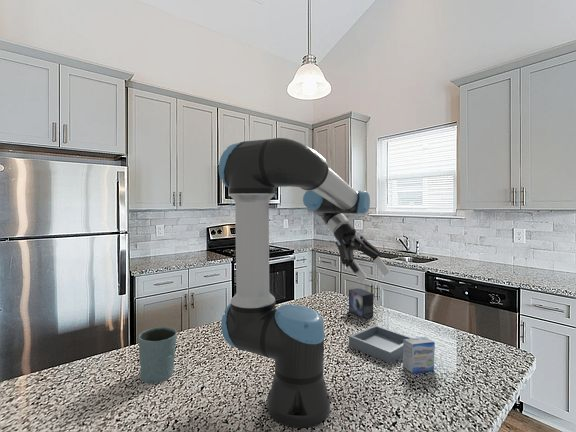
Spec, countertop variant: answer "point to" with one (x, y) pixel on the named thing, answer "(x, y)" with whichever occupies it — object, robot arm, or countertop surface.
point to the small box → (361, 303)
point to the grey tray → (379, 343)
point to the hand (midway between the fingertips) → (376, 276)
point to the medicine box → (418, 354)
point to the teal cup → (157, 354)
